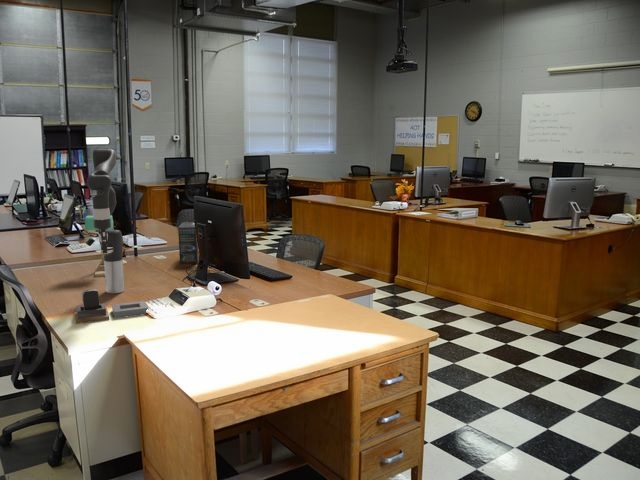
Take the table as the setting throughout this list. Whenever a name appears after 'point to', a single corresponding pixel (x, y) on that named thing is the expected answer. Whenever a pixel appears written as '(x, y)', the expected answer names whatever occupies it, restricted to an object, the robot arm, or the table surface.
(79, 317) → the tray
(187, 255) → the computer tower
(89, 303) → the battery
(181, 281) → the table surface
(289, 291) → the table surface
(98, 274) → the banker's lamp
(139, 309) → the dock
